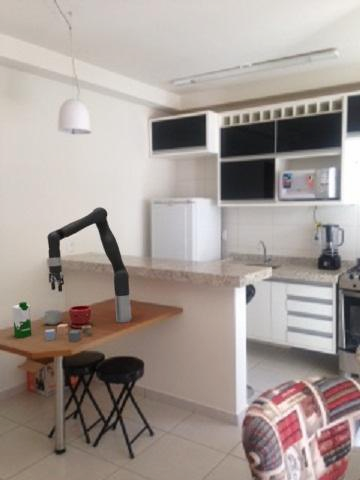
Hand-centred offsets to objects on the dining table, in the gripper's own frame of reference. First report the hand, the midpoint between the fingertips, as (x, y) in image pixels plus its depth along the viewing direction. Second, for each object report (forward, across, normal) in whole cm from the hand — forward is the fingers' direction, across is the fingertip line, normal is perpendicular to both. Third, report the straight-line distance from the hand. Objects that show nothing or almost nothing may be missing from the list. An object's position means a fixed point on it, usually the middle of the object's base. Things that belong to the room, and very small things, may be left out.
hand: (56, 290), depth 263 cm
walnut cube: (+24, -27, -3) cm, 36 cm away
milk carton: (+24, +2, +22) cm, 33 cm away
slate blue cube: (+24, -17, +14) cm, 32 cm away
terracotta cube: (+24, -13, +4) cm, 27 cm away
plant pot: (+24, -8, -11) cm, 27 cm away
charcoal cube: (+24, -30, +6) cm, 38 cm away
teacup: (+24, +11, -1) cm, 26 cm away
